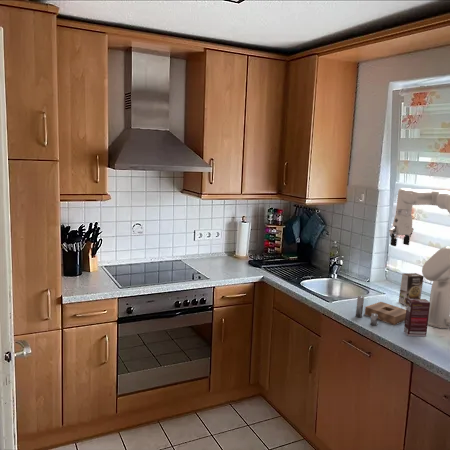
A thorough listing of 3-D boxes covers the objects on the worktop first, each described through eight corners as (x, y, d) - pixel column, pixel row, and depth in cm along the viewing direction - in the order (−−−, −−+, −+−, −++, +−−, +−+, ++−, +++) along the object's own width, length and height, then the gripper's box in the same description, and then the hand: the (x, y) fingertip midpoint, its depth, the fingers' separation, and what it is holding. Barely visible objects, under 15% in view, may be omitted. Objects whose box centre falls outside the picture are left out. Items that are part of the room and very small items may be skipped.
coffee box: (405, 306, 247) (409, 276, 244) (398, 301, 253) (401, 273, 250) (420, 305, 249) (424, 276, 246) (412, 301, 255) (416, 272, 253)
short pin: (378, 325, 218) (379, 314, 217) (374, 326, 216) (375, 316, 215) (372, 322, 220) (373, 312, 219) (368, 324, 218) (370, 314, 218)
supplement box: (421, 332, 212) (426, 298, 209) (426, 336, 207) (431, 302, 204) (402, 331, 212) (407, 298, 209) (407, 336, 207) (411, 301, 204)
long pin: (363, 316, 227) (365, 297, 226) (359, 318, 226) (361, 298, 224) (357, 314, 230) (359, 295, 228) (354, 316, 228) (356, 296, 226)
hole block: (409, 318, 228) (410, 311, 227) (394, 325, 219) (395, 317, 218) (380, 309, 240) (380, 301, 239) (364, 314, 231) (365, 306, 230)
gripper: (398, 214, 232) (394, 247, 235) (420, 213, 240) (416, 245, 243) (386, 211, 238) (382, 244, 241) (408, 210, 247) (404, 242, 250)
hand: (399, 245), depth 242 cm, fingers open, 9 cm apart
